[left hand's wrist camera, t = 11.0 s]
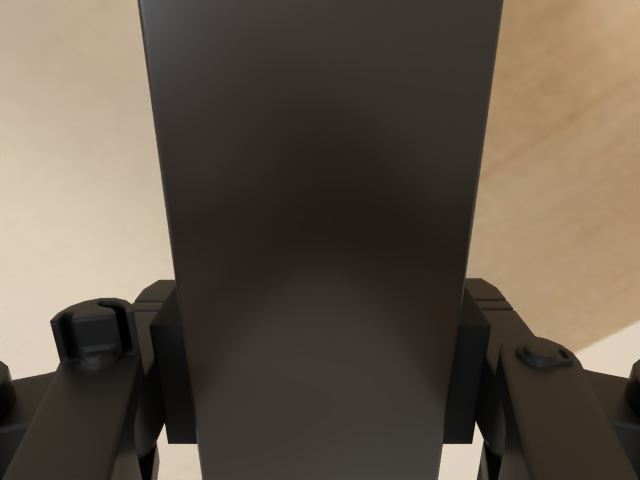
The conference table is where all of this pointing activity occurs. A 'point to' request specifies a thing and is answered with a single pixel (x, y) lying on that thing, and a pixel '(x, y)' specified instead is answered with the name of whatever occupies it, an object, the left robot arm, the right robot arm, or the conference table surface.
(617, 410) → the left robot arm
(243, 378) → the metal bar
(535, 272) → the conference table surface
